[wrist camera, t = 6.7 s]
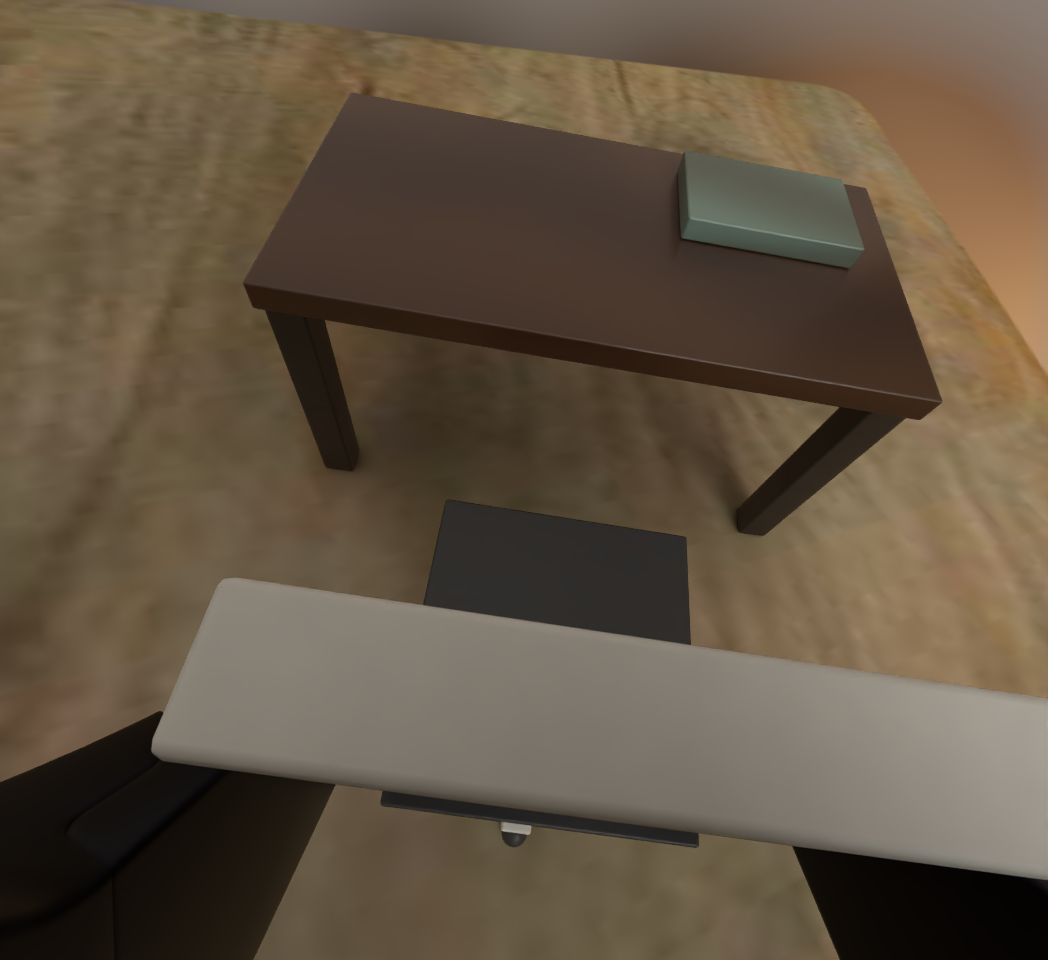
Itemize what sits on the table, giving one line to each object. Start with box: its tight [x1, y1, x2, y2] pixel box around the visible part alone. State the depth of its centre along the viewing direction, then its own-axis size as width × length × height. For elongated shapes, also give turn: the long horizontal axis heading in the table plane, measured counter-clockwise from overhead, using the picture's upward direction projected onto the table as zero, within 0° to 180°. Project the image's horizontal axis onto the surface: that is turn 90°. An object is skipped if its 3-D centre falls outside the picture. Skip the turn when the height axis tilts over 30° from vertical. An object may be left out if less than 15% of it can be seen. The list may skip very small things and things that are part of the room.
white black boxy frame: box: [151, 499, 1048, 880], centre depth 10 cm, size 7×7×12 cm
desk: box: [243, 93, 942, 536], centre depth 16 cm, size 8×15×8 cm, turn 83°
